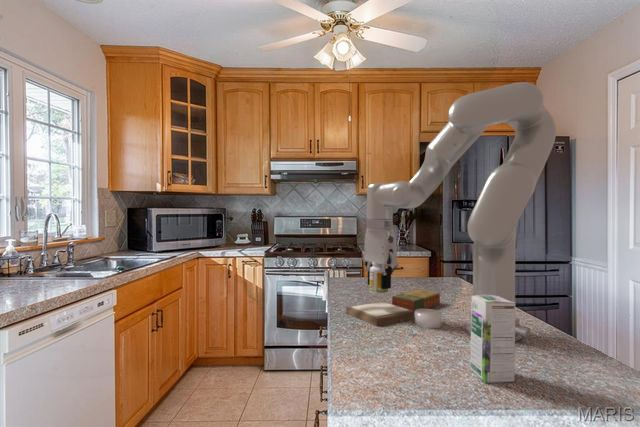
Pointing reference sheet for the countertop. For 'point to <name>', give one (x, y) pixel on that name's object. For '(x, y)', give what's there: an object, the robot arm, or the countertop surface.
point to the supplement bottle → (376, 279)
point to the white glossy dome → (428, 318)
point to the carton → (416, 299)
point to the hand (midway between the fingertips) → (379, 285)
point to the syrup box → (493, 338)
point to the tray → (380, 313)
